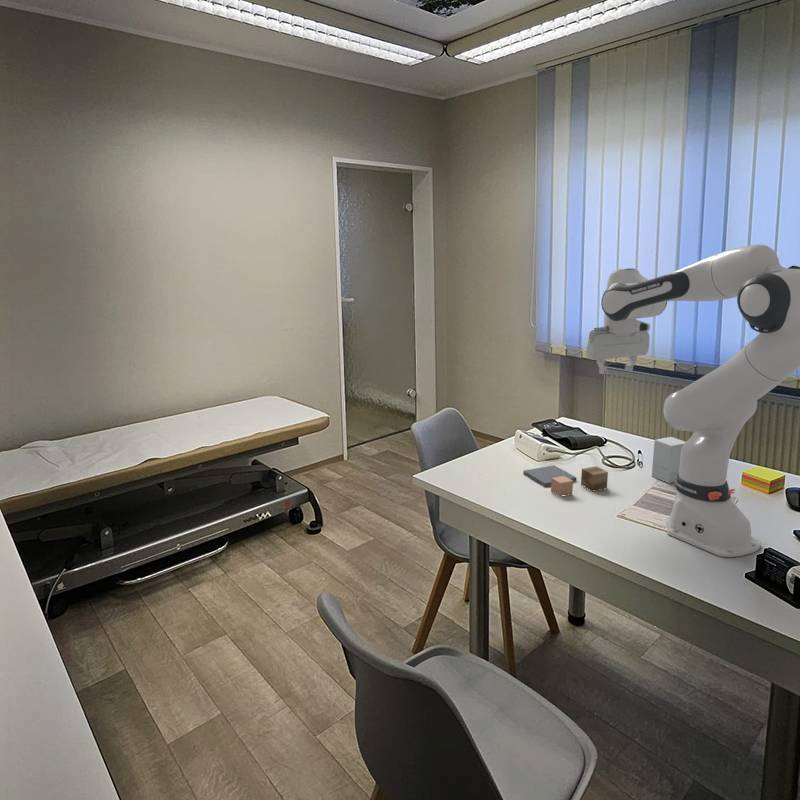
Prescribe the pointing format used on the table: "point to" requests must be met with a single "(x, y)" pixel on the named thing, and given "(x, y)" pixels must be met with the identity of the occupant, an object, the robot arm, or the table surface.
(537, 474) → the board
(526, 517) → the table surface
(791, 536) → the table surface
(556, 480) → the terracotta block
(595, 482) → the walnut block
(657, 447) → the supplement box
